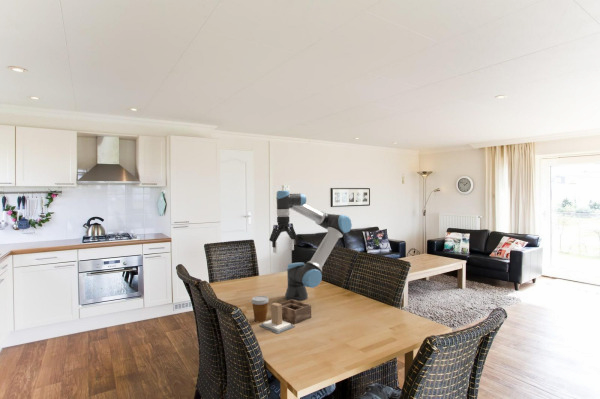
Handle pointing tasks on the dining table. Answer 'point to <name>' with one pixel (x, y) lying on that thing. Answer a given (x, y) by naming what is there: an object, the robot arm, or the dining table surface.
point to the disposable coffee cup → (260, 308)
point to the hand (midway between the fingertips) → (283, 251)
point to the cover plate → (277, 327)
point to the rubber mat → (275, 330)
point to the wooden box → (295, 311)
